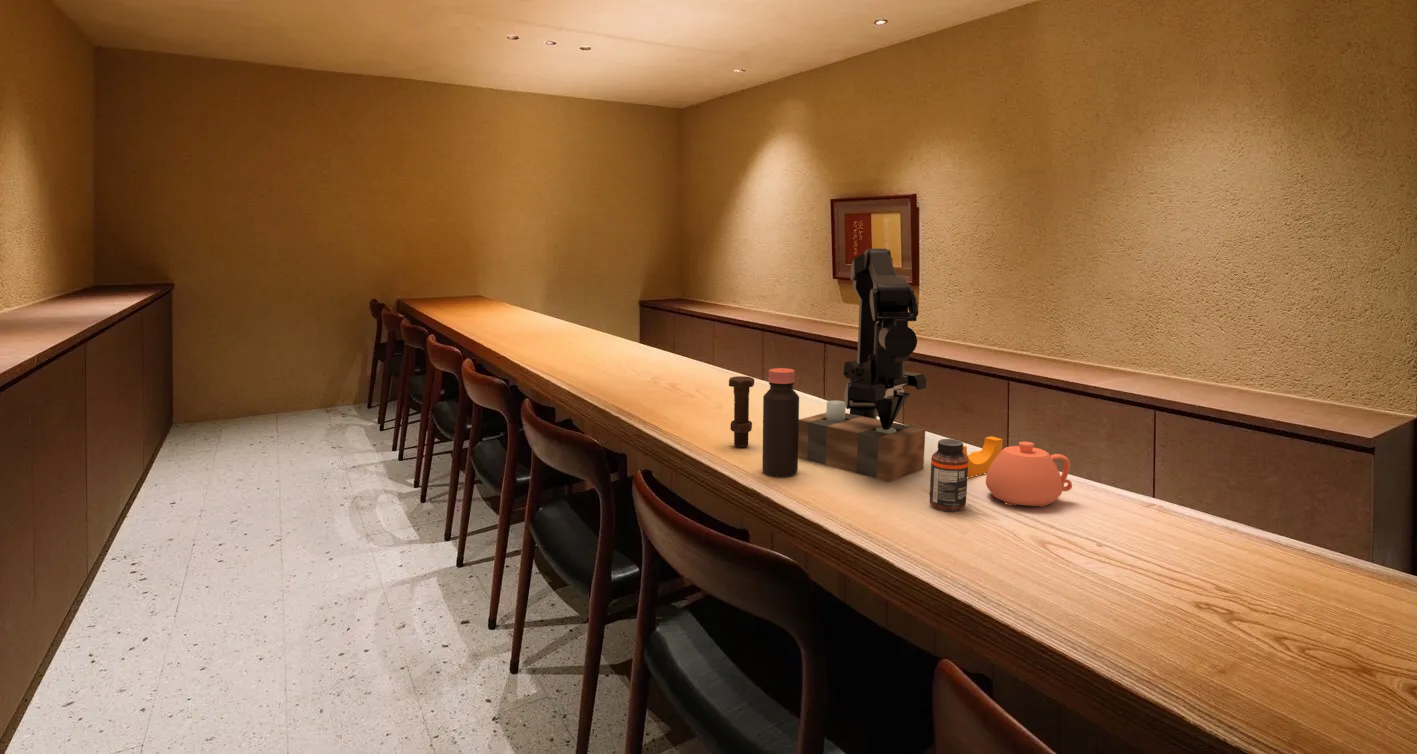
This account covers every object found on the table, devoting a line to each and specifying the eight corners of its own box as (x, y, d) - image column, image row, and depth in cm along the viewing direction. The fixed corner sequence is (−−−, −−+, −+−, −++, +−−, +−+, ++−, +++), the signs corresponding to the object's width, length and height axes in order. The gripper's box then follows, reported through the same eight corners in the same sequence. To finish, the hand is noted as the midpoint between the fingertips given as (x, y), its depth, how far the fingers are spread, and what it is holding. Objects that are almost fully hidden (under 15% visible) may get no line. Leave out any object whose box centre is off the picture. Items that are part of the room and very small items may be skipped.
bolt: (750, 450, 163) (751, 381, 160) (727, 449, 164) (727, 380, 161) (754, 443, 169) (755, 376, 166) (731, 442, 170) (732, 375, 167)
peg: (833, 432, 160) (834, 399, 159) (848, 435, 158) (849, 402, 156) (822, 435, 158) (822, 402, 156) (837, 439, 155) (838, 405, 154)
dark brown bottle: (769, 465, 153) (771, 366, 149) (802, 469, 150) (804, 368, 146) (757, 474, 147) (758, 371, 143) (790, 479, 144) (792, 374, 140)
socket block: (832, 446, 166) (833, 410, 165) (923, 468, 150) (925, 428, 149) (797, 457, 158) (797, 419, 156) (889, 482, 142) (890, 440, 141)
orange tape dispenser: (982, 465, 153) (984, 434, 152) (1000, 471, 149) (1002, 439, 148) (939, 475, 147) (941, 442, 146) (957, 481, 143) (959, 447, 142)
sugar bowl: (979, 486, 140) (982, 432, 138) (1060, 491, 138) (1065, 435, 136) (991, 509, 128) (995, 450, 126) (1081, 515, 126) (1086, 455, 124)
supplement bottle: (935, 498, 134) (938, 435, 132) (970, 504, 130) (974, 440, 128) (923, 507, 129) (927, 442, 127) (959, 515, 126) (963, 448, 123)
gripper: (881, 340, 158) (877, 414, 161) (825, 349, 145) (822, 430, 148) (929, 346, 150) (925, 423, 153) (875, 356, 137) (871, 441, 140)
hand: (885, 429), depth 148 cm, fingers closed
